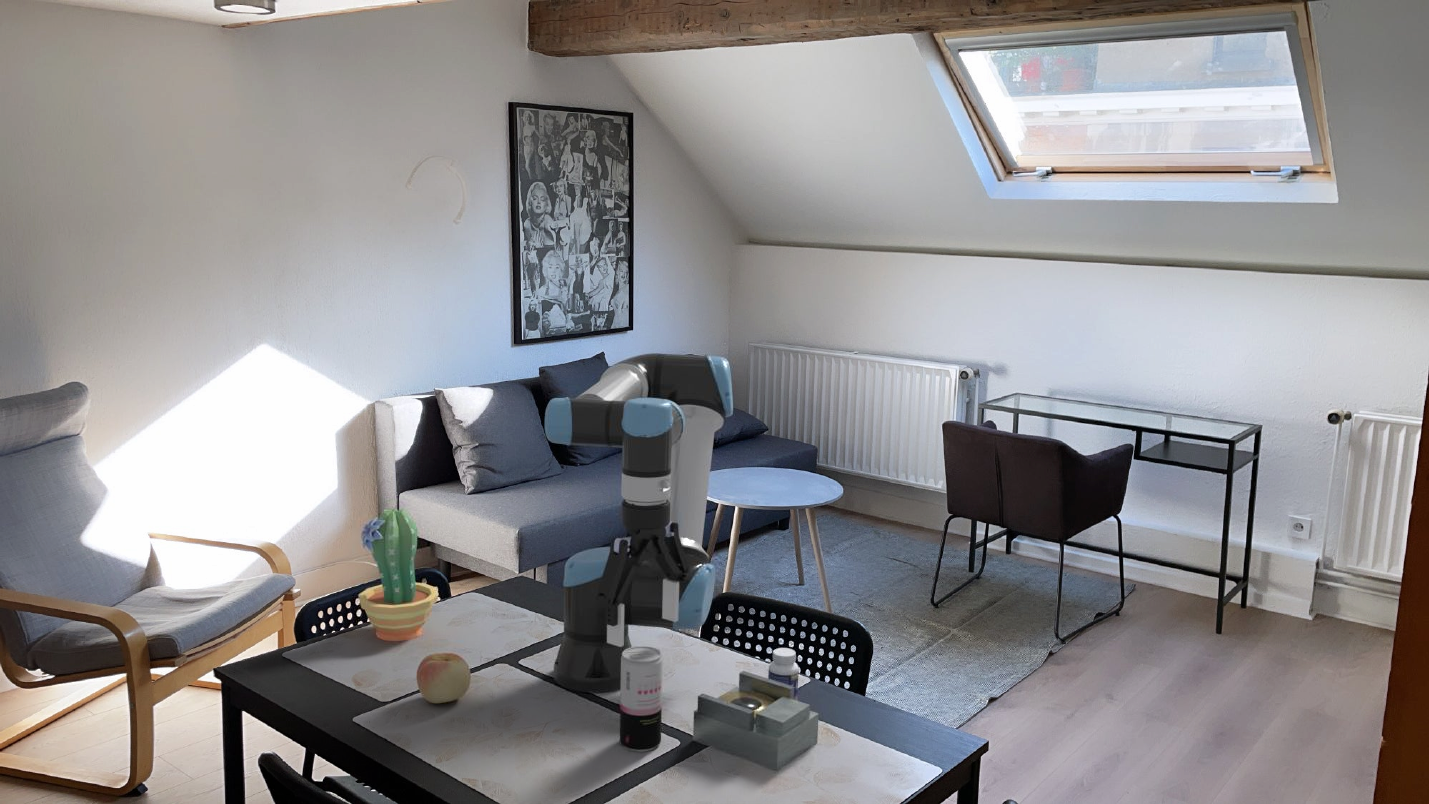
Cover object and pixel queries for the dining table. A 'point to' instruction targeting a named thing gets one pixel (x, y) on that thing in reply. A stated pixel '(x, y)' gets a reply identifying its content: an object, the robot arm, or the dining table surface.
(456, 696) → the apple
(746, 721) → the brass dish housing
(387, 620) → the potted cactus
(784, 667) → the pill bottle
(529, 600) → the dining table surface
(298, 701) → the dining table surface
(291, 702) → the dining table surface
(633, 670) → the beverage can
